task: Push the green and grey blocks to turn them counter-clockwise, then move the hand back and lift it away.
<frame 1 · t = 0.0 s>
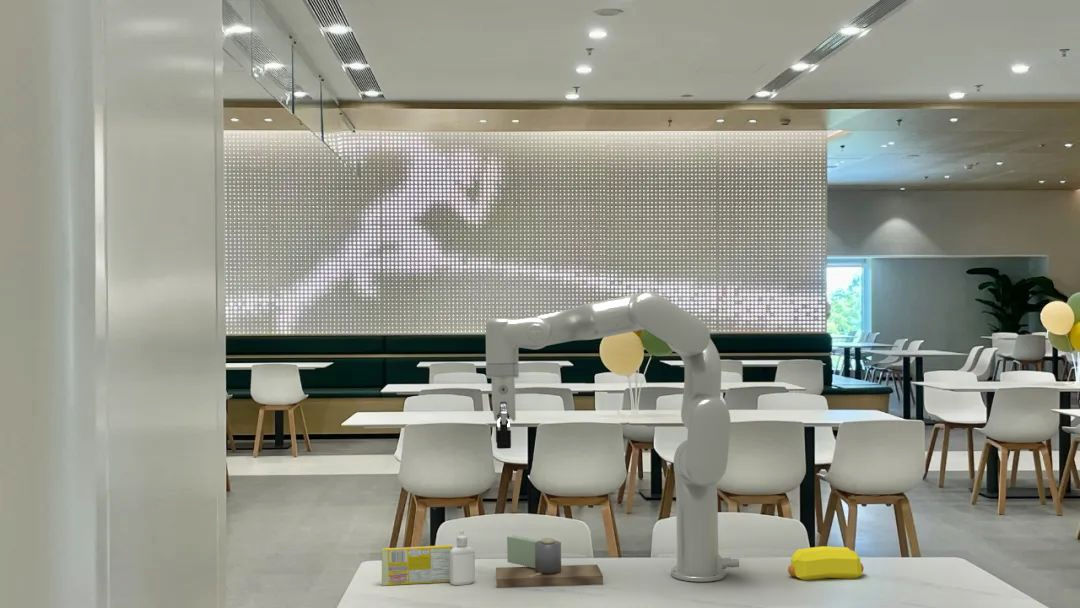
hand: (503, 445, 220), 31 cm above the table, tool pointing down, fingers open, 9 cm apart
post base: (548, 580, 220), on the table
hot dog: (826, 578, 220), on the table
eye dropper bottle: (462, 583, 219), on the table
green and grey blocks: (533, 552, 223), point 6 cm above the table, hinge at 0.0°
candy box: (417, 584, 219), on the table
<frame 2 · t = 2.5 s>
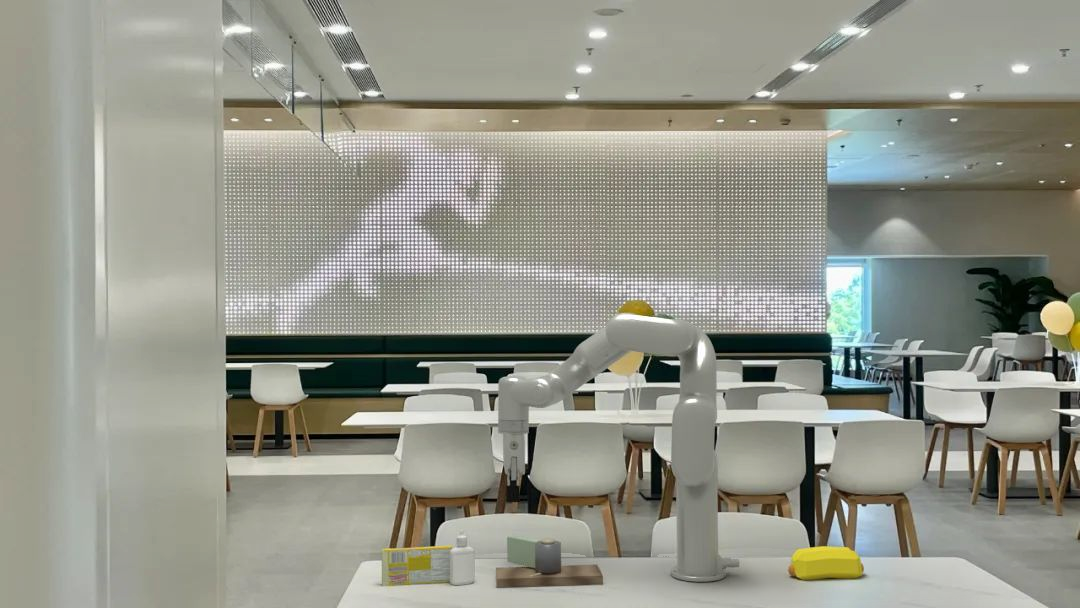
hand: (512, 501, 234), 16 cm above the table, tool pointing down, fingers closed
nothing on the table moved.
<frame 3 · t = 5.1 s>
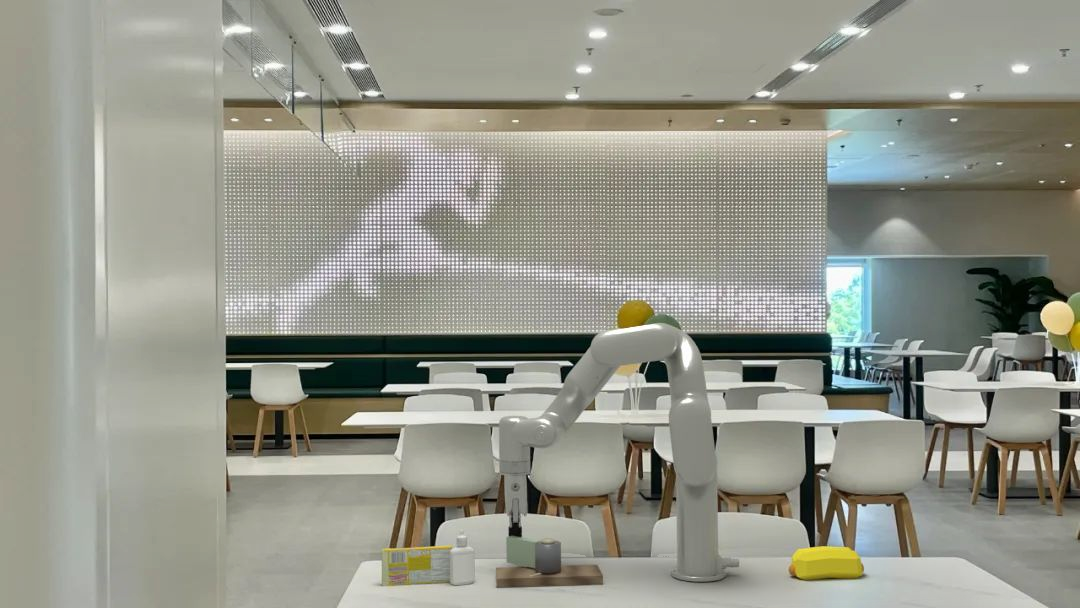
hand: (515, 543, 230), 6 cm above the table, tool pointing down, fingers closed
green and grey blocks: (533, 552, 223), point 6 cm above the table, hinge at 1.5°, touching gripper
everything else where it was.
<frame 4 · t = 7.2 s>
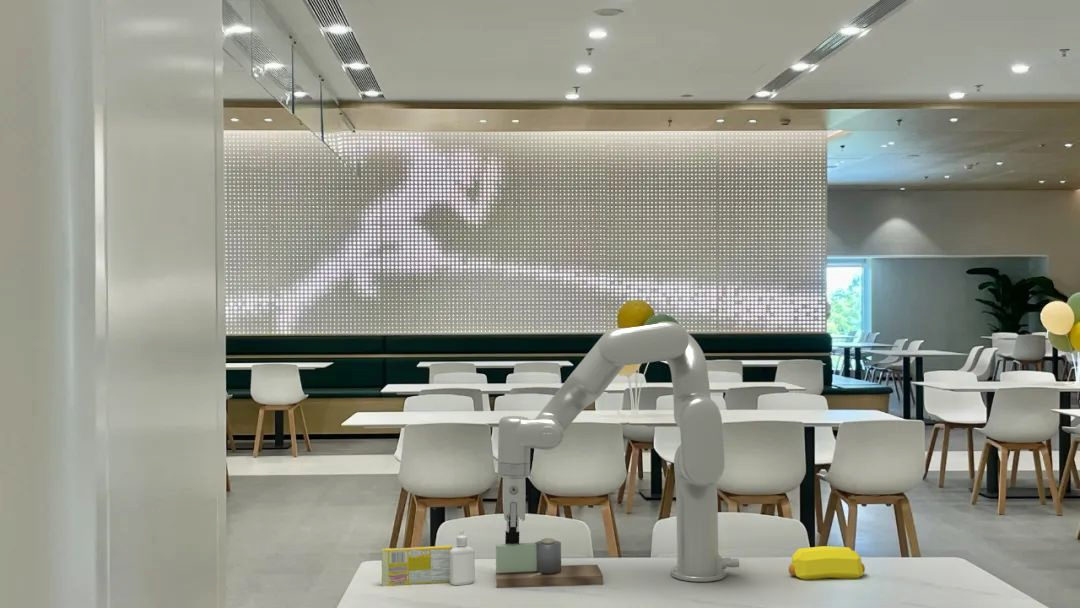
hand: (512, 548, 222), 7 cm above the table, tool pointing down, fingers closed
green and grey blocks: (528, 555, 219), point 6 cm above the table, hinge at 48.9°, touching gripper
everything else where it was.
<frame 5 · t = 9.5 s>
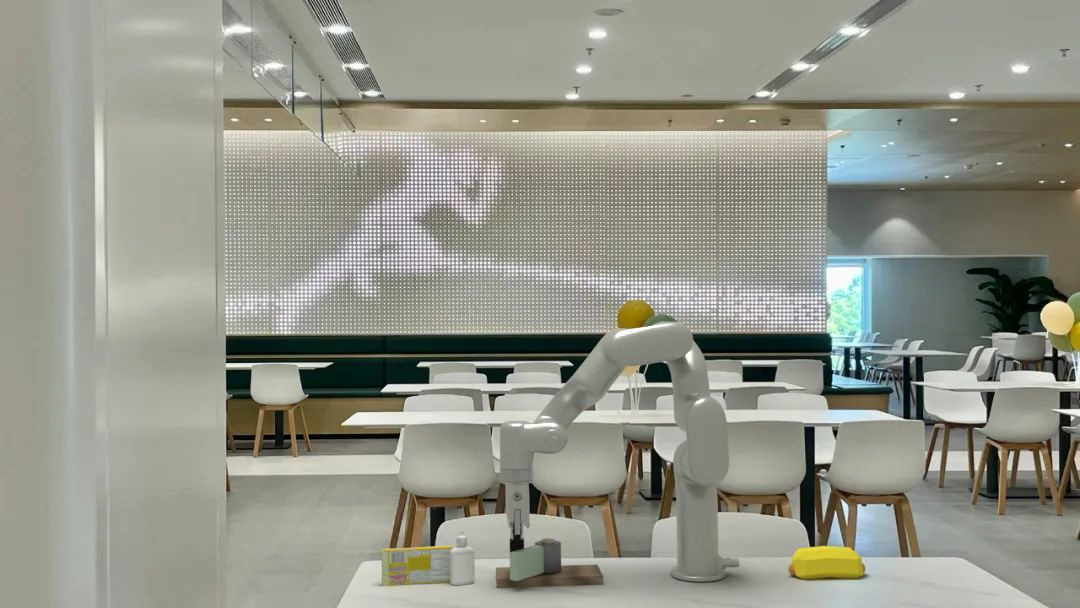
hand: (516, 556, 216), 6 cm above the table, tool pointing down, fingers closed
green and grey blocks: (535, 558, 217), point 6 cm above the table, hinge at 90.7°, touching gripper
everything else where it was.
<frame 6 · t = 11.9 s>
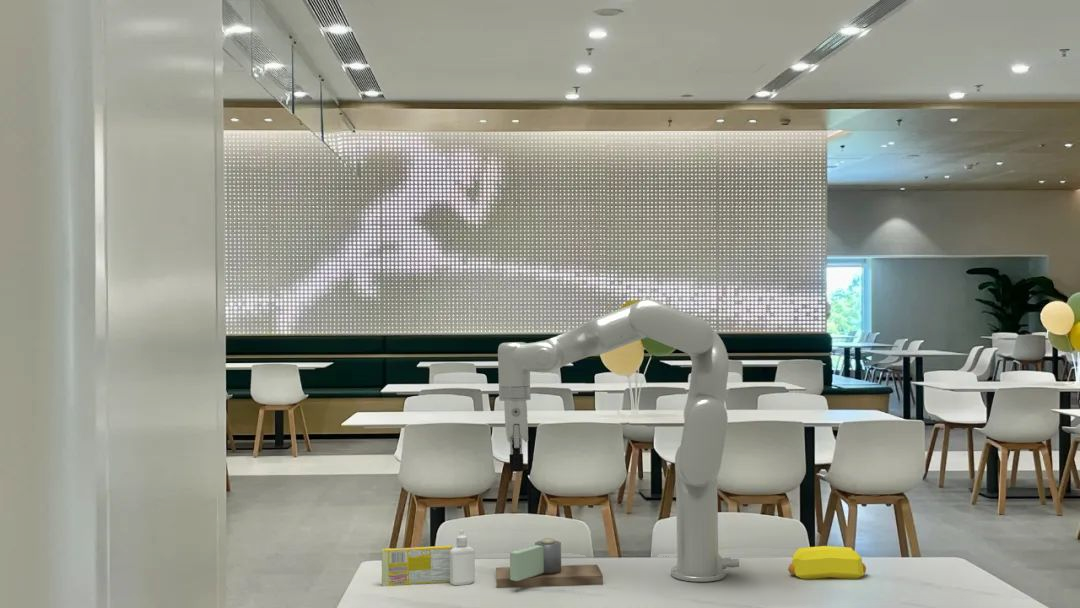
hand: (516, 470, 227), 24 cm above the table, tool pointing down, fingers closed
green and grey blocks: (535, 558, 217), point 6 cm above the table, hinge at 91.0°
everything else where it was.
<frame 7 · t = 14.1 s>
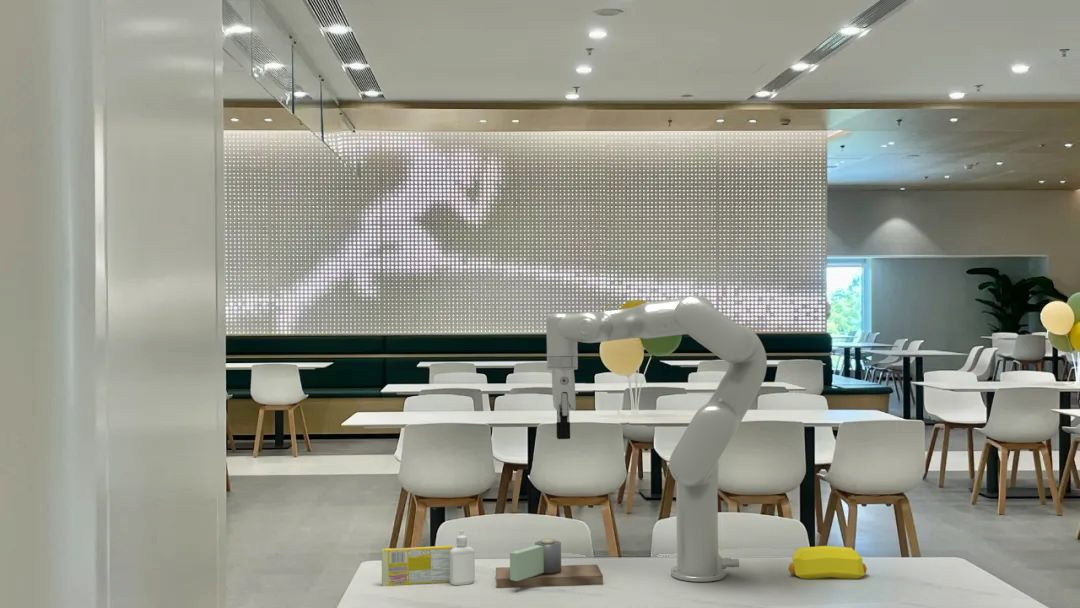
hand: (563, 438, 233), 31 cm above the table, tool pointing down, fingers closed
nothing on the table moved.
at the end: green and grey blocks at +91° (first picture: +0°); the gripper is holding nothing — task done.
